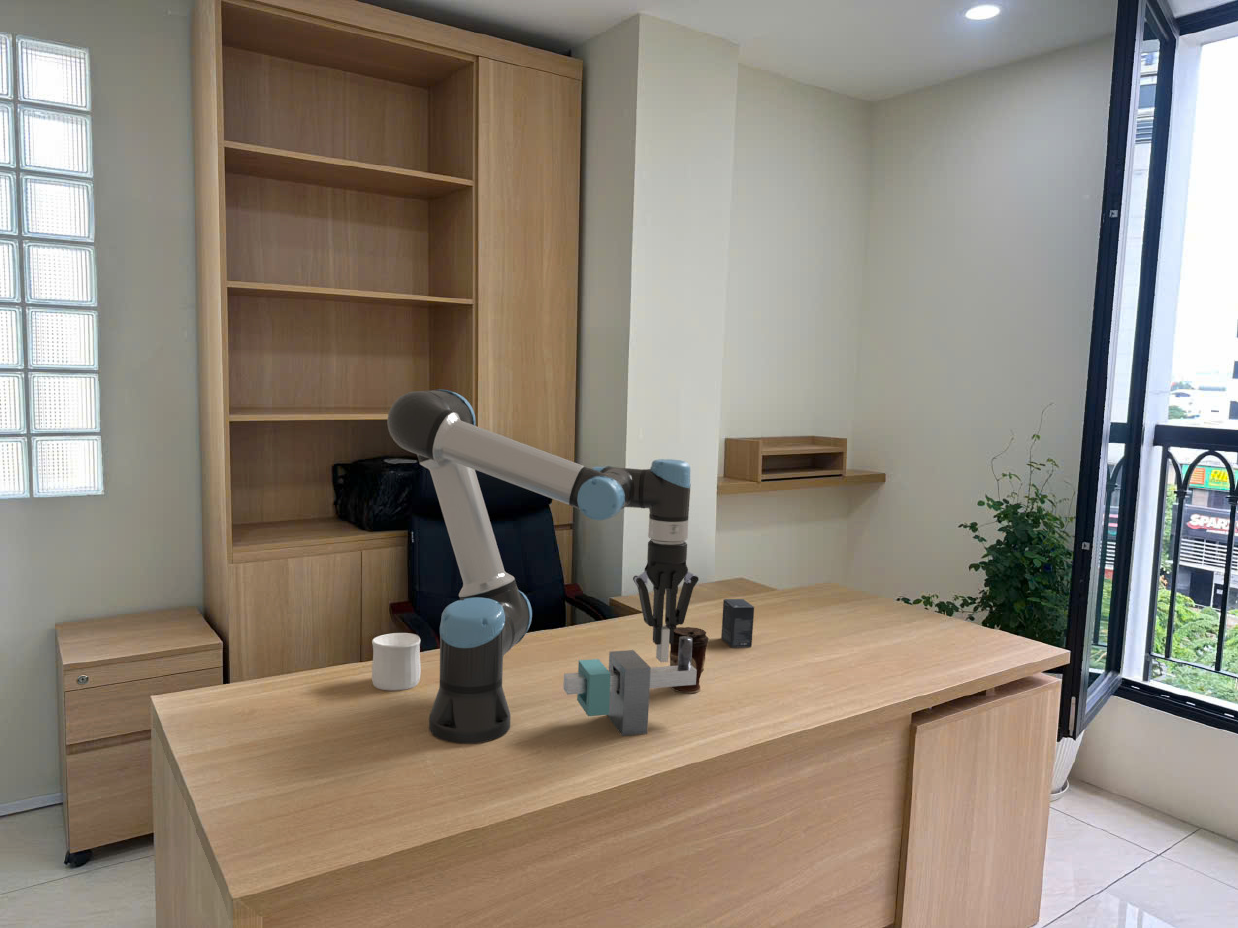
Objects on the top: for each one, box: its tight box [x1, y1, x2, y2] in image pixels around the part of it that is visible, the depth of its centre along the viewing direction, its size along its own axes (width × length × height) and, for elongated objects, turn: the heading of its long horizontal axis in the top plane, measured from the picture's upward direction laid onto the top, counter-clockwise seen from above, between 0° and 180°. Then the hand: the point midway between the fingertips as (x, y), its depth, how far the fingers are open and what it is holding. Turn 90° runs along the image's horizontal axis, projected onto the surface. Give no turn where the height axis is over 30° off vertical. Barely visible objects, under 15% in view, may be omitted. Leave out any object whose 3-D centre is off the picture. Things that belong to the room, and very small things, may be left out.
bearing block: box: [606, 649, 652, 737], centre depth 165 cm, size 5×10×13 cm, turn 18°
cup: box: [371, 632, 422, 692], centre depth 181 cm, size 10×10×10 cm
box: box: [720, 598, 755, 648], centre depth 218 cm, size 8×6×11 cm
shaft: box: [563, 636, 697, 696], centre depth 165 cm, size 26×3×9 cm, turn 108°
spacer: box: [576, 658, 611, 717], centre depth 163 cm, size 4×8×8 cm, turn 18°
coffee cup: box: [669, 626, 709, 694], centre depth 185 cm, size 9×8×13 cm
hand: (662, 659), depth 166 cm, fingers closed
